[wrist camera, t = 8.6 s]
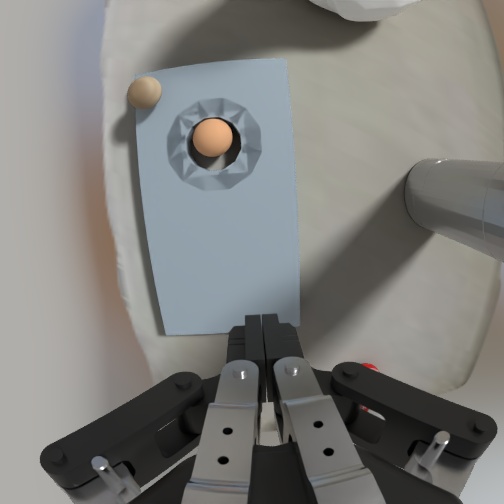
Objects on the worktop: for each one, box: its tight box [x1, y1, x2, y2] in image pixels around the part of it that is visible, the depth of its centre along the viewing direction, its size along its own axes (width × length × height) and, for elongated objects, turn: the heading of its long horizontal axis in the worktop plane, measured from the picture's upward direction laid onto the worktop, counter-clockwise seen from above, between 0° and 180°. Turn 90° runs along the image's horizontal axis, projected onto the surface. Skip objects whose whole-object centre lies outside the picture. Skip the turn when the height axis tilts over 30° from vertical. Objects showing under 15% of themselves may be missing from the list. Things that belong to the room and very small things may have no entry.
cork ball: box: [127, 76, 162, 110], centre depth 24 cm, size 4×4×4 cm
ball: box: [193, 119, 232, 157], centre depth 28 cm, size 4×4×4 cm
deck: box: [135, 58, 300, 335], centre depth 30 cm, size 30×16×2 cm, turn 4°
